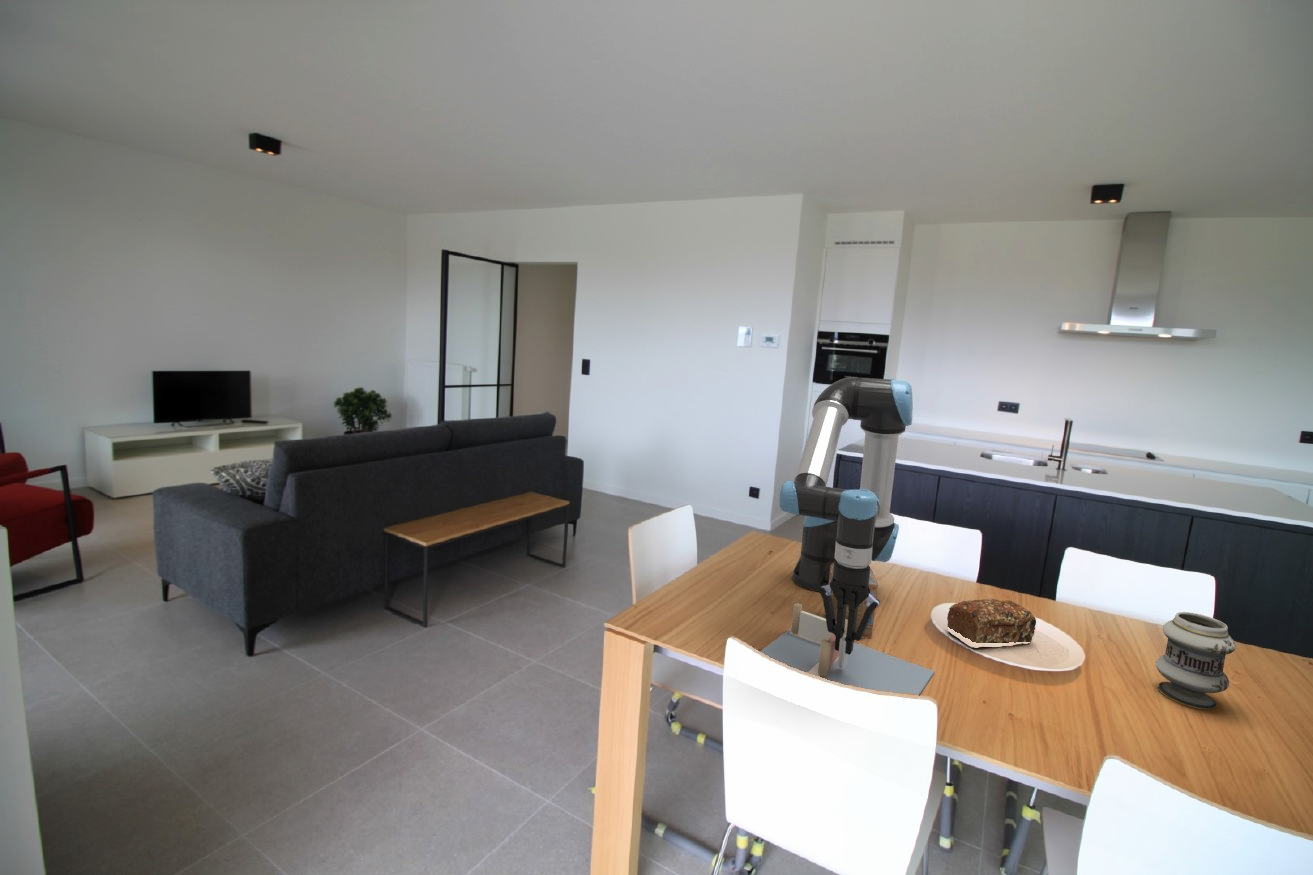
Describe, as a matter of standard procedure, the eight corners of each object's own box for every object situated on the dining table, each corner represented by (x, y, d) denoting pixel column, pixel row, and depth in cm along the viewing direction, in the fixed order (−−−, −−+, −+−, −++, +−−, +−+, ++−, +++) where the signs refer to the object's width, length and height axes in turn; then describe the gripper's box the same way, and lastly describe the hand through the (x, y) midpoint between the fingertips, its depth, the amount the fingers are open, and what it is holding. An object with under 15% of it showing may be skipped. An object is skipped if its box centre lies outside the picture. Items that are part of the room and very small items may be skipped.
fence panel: (834, 648, 141) (838, 619, 140) (843, 651, 140) (846, 622, 139) (816, 674, 130) (820, 642, 128) (825, 677, 129) (829, 645, 127)
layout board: (798, 624, 155) (798, 622, 155) (934, 673, 135) (934, 670, 135) (756, 655, 138) (756, 653, 138) (904, 717, 118) (905, 714, 118)
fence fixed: (793, 630, 150) (796, 602, 149) (846, 649, 142) (849, 620, 141) (789, 632, 149) (792, 604, 148) (842, 652, 141) (846, 623, 139)
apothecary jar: (1150, 675, 140) (1165, 602, 137) (1220, 696, 133) (1237, 620, 130) (1150, 696, 131) (1166, 619, 128) (1225, 720, 123) (1244, 639, 121)
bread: (974, 652, 146) (979, 613, 145) (942, 631, 157) (948, 595, 155) (1034, 646, 151) (1041, 609, 150) (1001, 626, 162) (1006, 591, 160)
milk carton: (871, 638, 150) (880, 566, 147) (827, 631, 152) (836, 560, 149) (865, 619, 160) (874, 552, 157) (825, 614, 162) (832, 546, 159)
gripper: (817, 560, 129) (807, 662, 132) (877, 575, 122) (866, 682, 125) (829, 551, 135) (820, 649, 138) (887, 565, 128) (876, 668, 131)
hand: (842, 665), depth 132 cm, fingers closed
